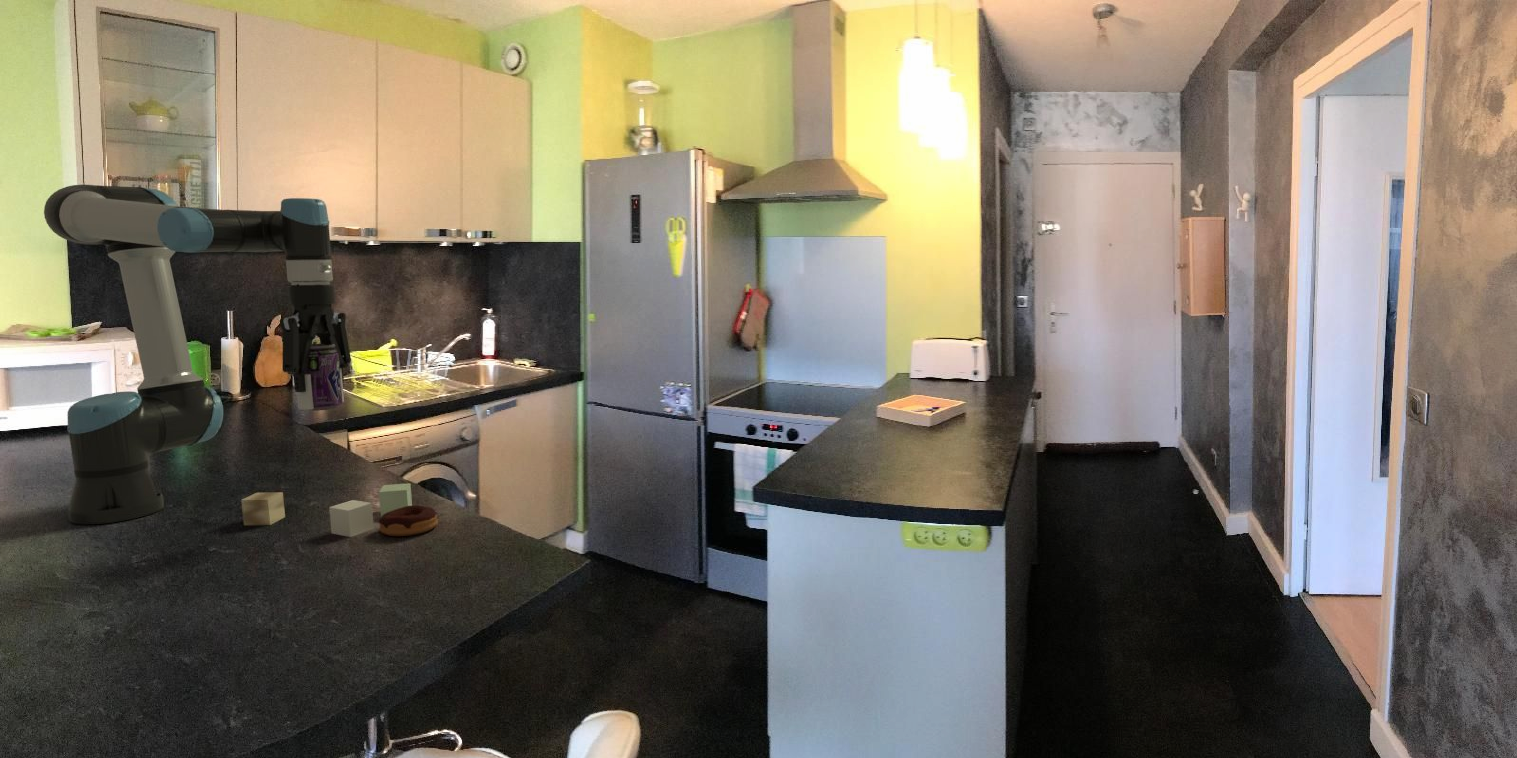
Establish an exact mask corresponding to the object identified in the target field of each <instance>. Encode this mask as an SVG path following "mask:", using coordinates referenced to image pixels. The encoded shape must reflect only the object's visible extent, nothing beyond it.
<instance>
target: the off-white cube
mask: <svg viewBox="0 0 1517 758" xmlns="http://www.w3.org/2000/svg"><path fill="white" fill-rule="evenodd" d="M328 509H329V519H330V533H331V535H333V534H334V535H338V536H344V537H348V538H349V537H350V538H352V537H355V536H357V535H361V534H363V533H366V532H369V531H372V530H374V529H375V527H374V526H375V525H374V514H373V513H374V512H373V503H372V502H369V501H361V500H355V499H352V500H349V501H345V502H342V503H339V504H335V505H332V506H329V507H328Z"/></svg>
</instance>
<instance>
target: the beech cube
mask: <svg viewBox="0 0 1517 758" xmlns="http://www.w3.org/2000/svg"><path fill="white" fill-rule="evenodd" d="M284 501H285V500H284V493H283V492H279V491H278V492H276V491H275V492H255V493H253V494H251V495H249V496H247V497H245V498H242V499H241V510H242V520H243V526H271V525H273V524H275V523H277V522H279V521H280V520H282V519H284V518H286V513H285V512H286V511H285V502H284Z"/></svg>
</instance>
